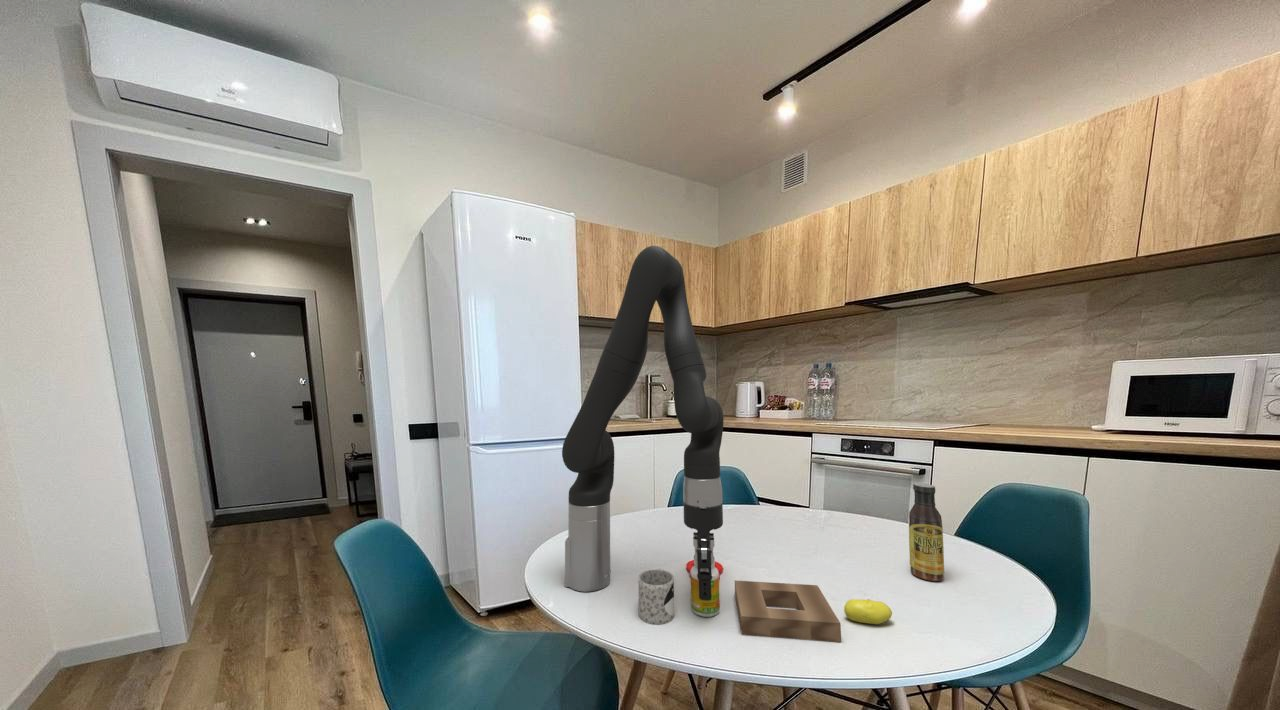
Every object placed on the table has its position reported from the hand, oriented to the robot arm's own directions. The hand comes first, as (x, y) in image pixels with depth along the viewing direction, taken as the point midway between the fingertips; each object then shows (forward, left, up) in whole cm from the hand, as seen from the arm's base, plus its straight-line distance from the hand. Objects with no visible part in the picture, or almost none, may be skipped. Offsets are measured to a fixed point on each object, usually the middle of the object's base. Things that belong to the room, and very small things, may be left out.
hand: (704, 590), depth 76 cm
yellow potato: (+29, 0, -4) cm, 29 cm away
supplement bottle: (0, 0, -4) cm, 4 cm away
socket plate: (+14, 0, -3) cm, 14 cm away
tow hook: (0, +17, -4) cm, 17 cm away
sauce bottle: (+49, +20, -4) cm, 53 cm away
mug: (-9, -1, -4) cm, 10 cm away
